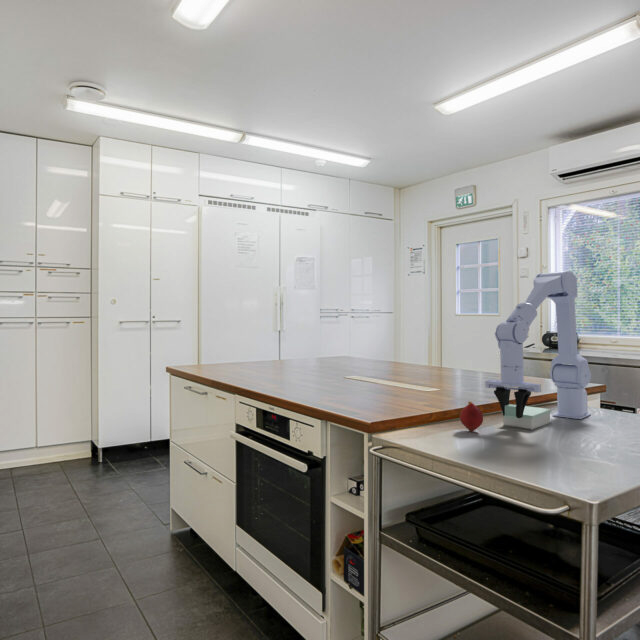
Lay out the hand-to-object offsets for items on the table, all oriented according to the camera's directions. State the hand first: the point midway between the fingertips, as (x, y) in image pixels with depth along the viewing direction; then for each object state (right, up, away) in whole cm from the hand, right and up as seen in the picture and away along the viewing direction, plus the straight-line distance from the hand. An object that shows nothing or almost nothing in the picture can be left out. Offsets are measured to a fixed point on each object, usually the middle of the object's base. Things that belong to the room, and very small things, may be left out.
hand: (512, 416), depth 132 cm
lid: (+5, -1, +5) cm, 7 cm away
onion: (-12, -4, -1) cm, 12 cm away
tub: (+6, -3, +6) cm, 9 cm away
